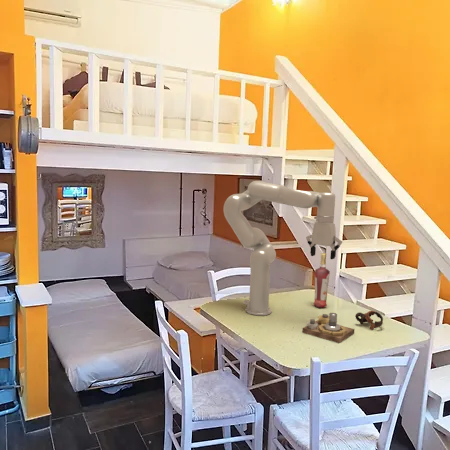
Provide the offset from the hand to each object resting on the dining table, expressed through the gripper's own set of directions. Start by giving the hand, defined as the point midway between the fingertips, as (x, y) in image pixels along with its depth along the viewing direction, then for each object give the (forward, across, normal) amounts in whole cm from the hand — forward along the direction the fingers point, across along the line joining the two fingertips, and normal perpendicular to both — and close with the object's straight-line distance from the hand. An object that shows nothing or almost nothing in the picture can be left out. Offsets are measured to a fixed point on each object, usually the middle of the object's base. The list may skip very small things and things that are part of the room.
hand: (322, 257), depth 199 cm
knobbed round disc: (+28, +12, -12) cm, 33 cm away
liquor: (+31, -10, +22) cm, 39 cm away
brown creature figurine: (+31, +20, +11) cm, 38 cm away
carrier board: (+30, +10, -10) cm, 34 cm away
